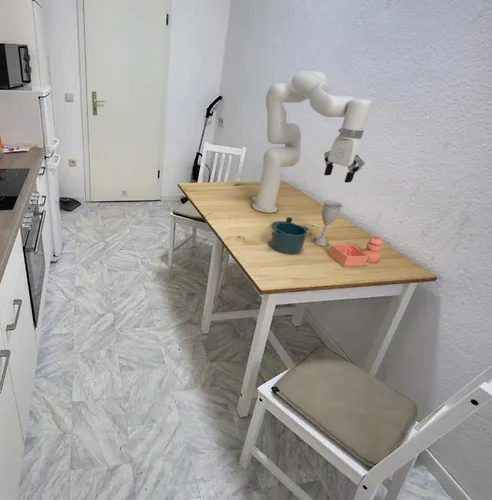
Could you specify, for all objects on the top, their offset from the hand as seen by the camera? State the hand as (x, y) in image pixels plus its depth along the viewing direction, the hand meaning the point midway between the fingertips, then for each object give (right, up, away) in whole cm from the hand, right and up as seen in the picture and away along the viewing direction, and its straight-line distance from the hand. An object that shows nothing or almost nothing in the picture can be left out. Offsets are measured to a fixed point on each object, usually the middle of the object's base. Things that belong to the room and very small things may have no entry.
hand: (337, 178), depth 143 cm
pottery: (+8, -32, +1) cm, 33 cm away
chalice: (-1, -26, +13) cm, 28 cm away
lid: (-11, -18, +23) cm, 31 cm away
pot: (-18, -27, +7) cm, 33 cm away
